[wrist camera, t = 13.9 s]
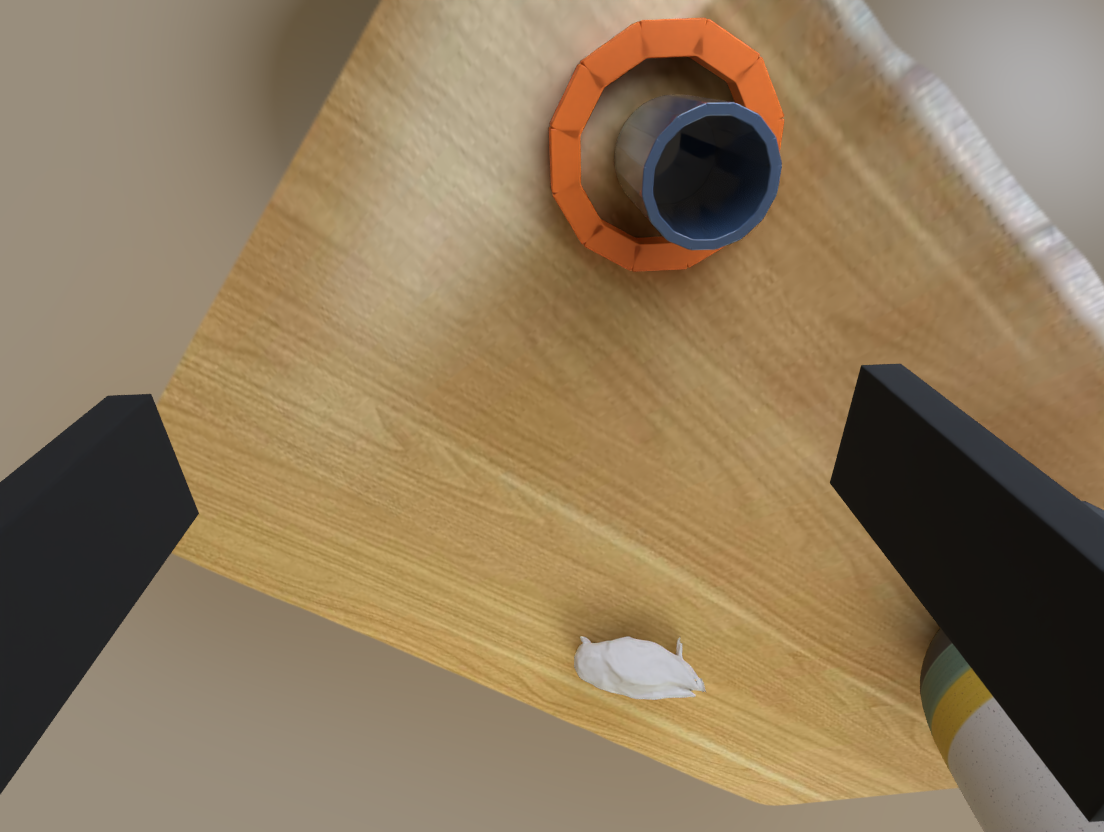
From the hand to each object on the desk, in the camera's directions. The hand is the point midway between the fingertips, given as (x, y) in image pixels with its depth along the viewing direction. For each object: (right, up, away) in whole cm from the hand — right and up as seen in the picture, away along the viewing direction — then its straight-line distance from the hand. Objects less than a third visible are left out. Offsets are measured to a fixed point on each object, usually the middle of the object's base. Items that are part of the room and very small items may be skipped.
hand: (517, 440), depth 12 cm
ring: (+7, +15, +22) cm, 28 cm away
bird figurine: (+7, -20, +43) cm, 48 cm away
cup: (+7, +15, +22) cm, 28 cm away
